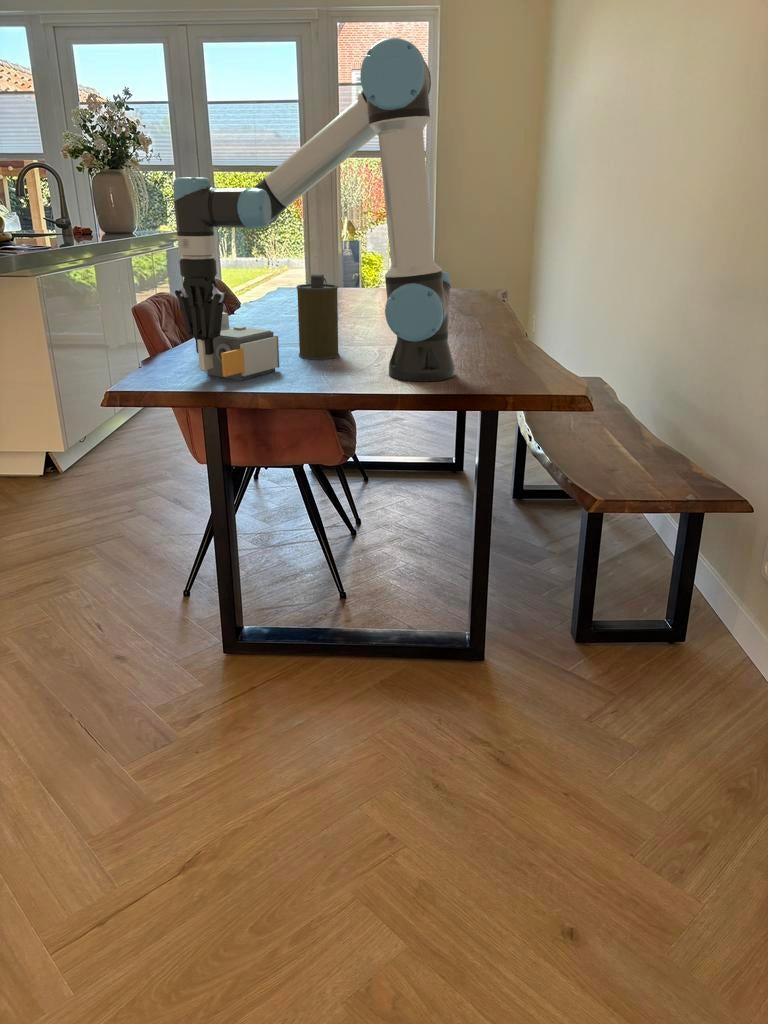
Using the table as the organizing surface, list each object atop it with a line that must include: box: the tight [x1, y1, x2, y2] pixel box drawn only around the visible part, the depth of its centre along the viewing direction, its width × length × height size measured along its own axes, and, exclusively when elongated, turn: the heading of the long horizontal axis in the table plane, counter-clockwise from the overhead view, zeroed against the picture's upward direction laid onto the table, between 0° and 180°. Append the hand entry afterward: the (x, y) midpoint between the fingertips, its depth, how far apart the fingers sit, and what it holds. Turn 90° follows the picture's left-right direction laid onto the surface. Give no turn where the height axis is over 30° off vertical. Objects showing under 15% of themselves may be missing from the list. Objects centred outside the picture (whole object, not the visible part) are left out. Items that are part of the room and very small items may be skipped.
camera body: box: [206, 325, 276, 381], centre depth 175 cm, size 10×13×10 cm
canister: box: [296, 274, 340, 361], centre depth 193 cm, size 11×10×20 cm
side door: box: [221, 335, 280, 378], centre depth 170 cm, size 1×18×7 cm, turn 148°
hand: (206, 368), depth 170 cm, fingers closed
